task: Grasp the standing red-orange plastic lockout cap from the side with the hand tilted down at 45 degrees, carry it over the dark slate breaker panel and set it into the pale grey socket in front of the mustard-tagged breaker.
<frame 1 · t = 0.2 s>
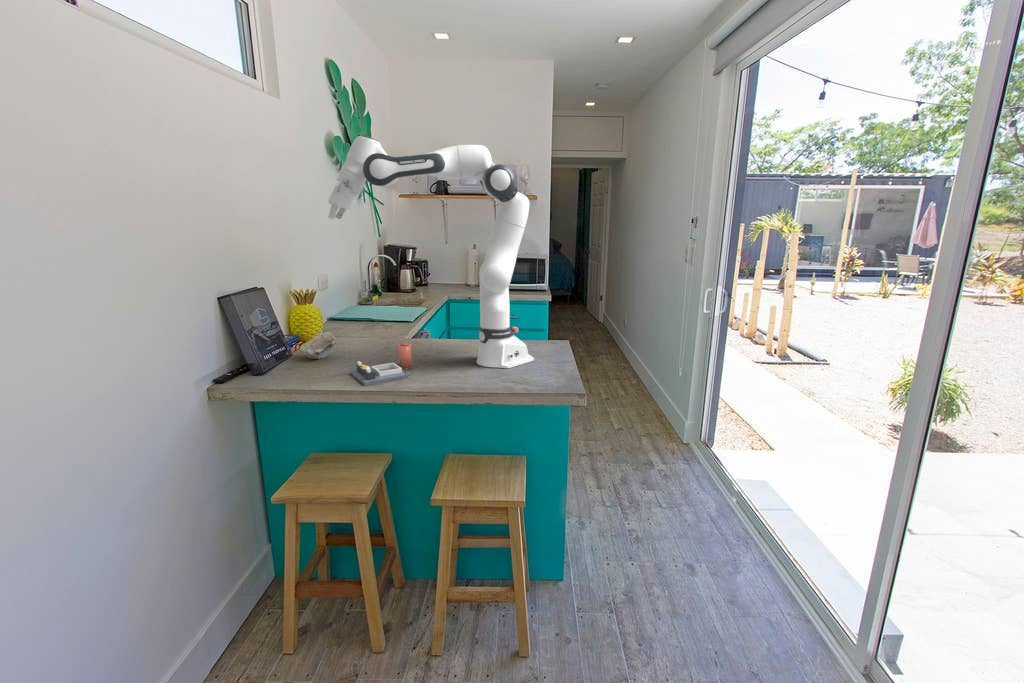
hand: (334, 218, 175), 54 cm above the countertop, tool tilted 25°, fingers open, 8 cm apart
stone: (318, 359, 197), on the countertop
panel: (378, 375, 177), on the countertop
lockout cap: (405, 367, 187), on the countertop
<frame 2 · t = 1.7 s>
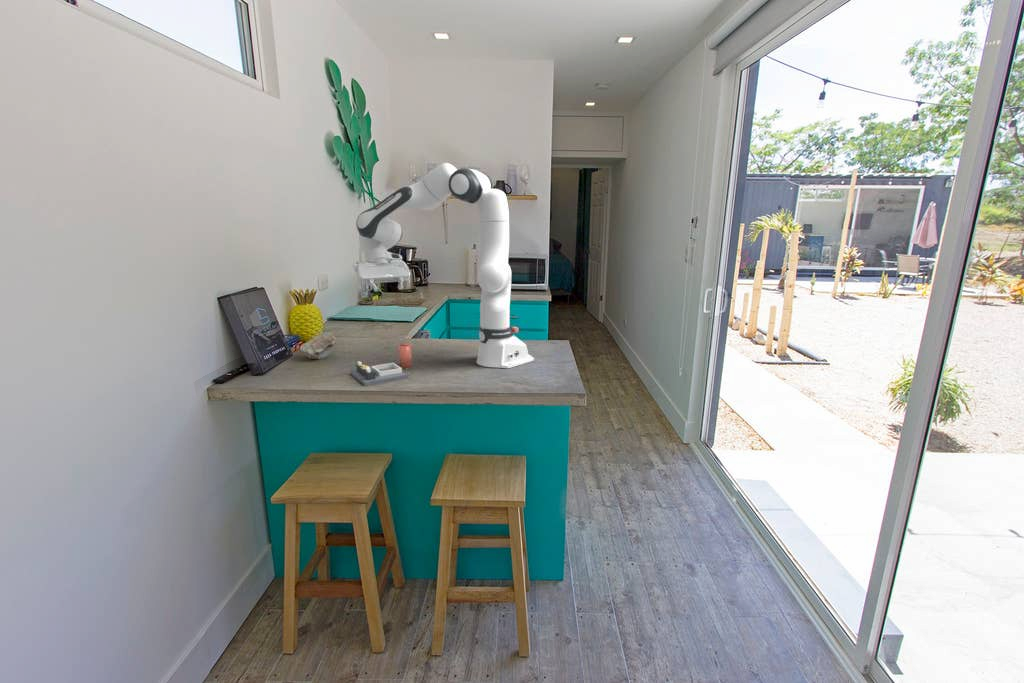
hand: (389, 289, 190), 27 cm above the countertop, tool tilted 45°, fingers open, 8 cm apart
nothing on the countertop moved.
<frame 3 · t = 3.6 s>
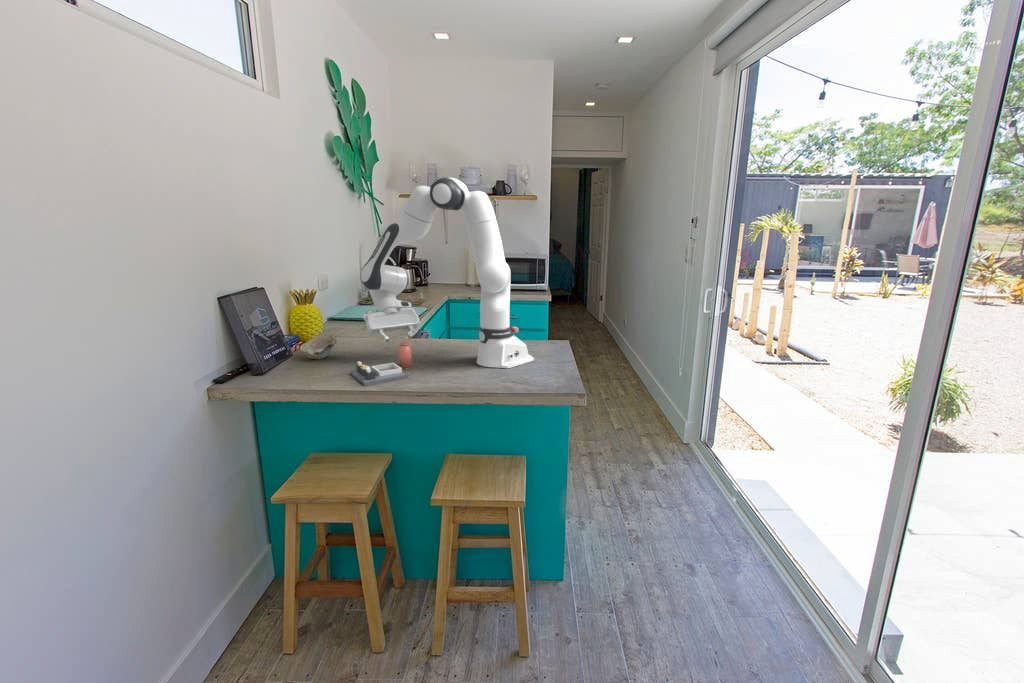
hand: (398, 339, 189), 10 cm above the countertop, tool tilted 45°, fingers open, 8 cm apart
nothing on the countertop moved.
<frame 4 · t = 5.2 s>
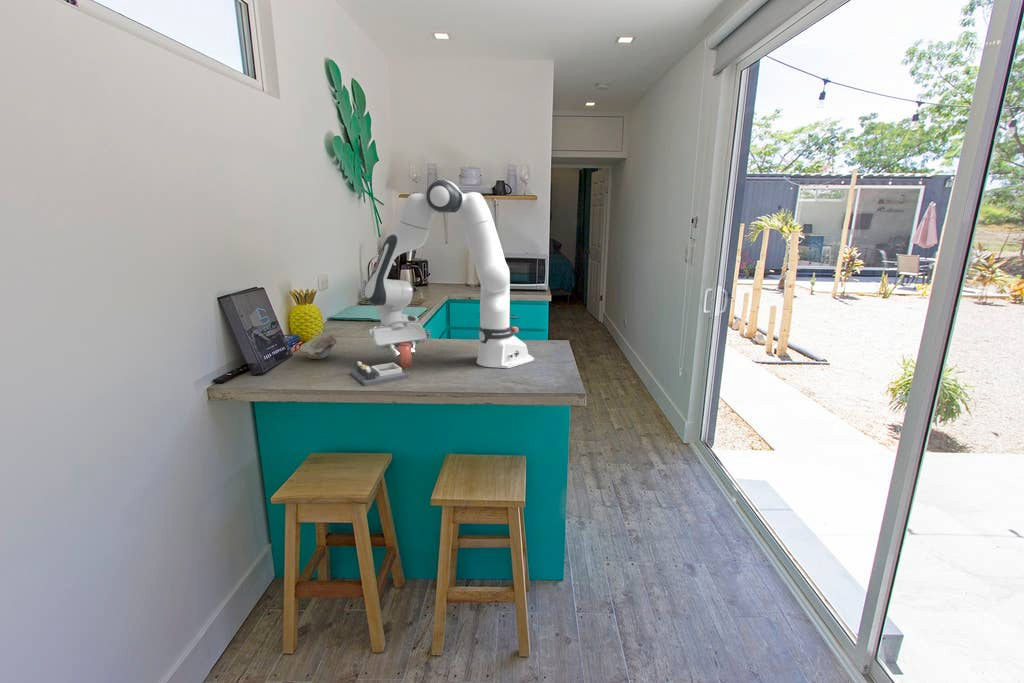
hand: (405, 354, 185), 5 cm above the countertop, tool tilted 45°, fingers closed on lockout cap, 5 cm apart
lockout cap: (405, 367, 187), on the countertop, touching gripper
everything else where it was.
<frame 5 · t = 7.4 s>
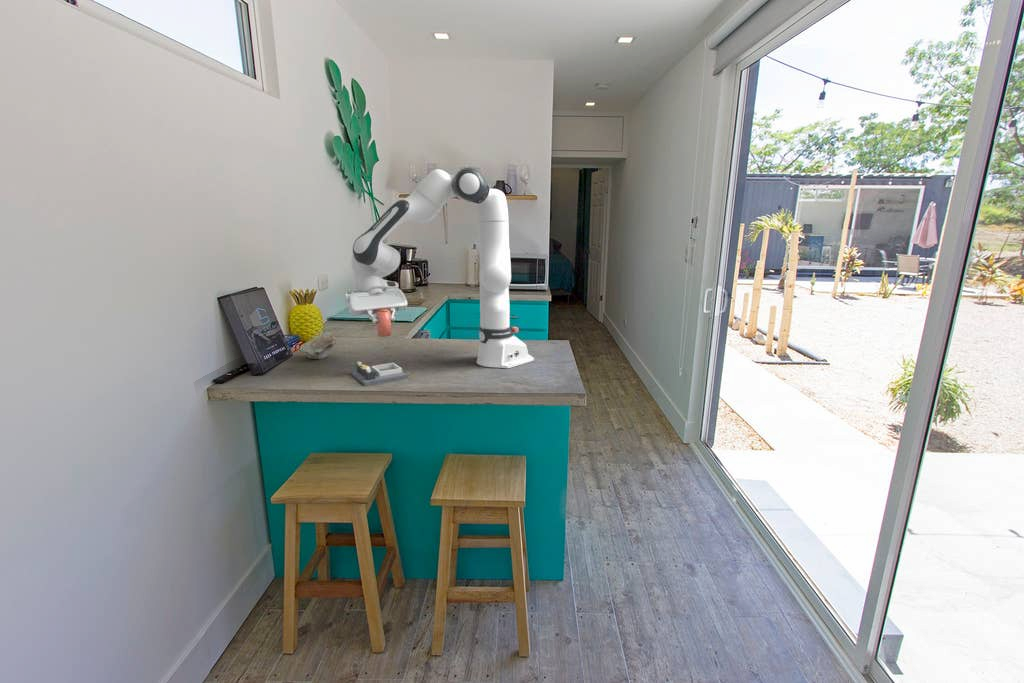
hand: (384, 321, 173), 19 cm above the countertop, tool tilted 45°, fingers closed on lockout cap, 5 cm apart
lockout cap: (384, 335, 175), point 14 cm above the countertop, touching gripper
everything else where it was.
when the fingers open (8 cm above the countertop, at t = 9.9 s): lockout cap drops 1 cm, resting on panel.
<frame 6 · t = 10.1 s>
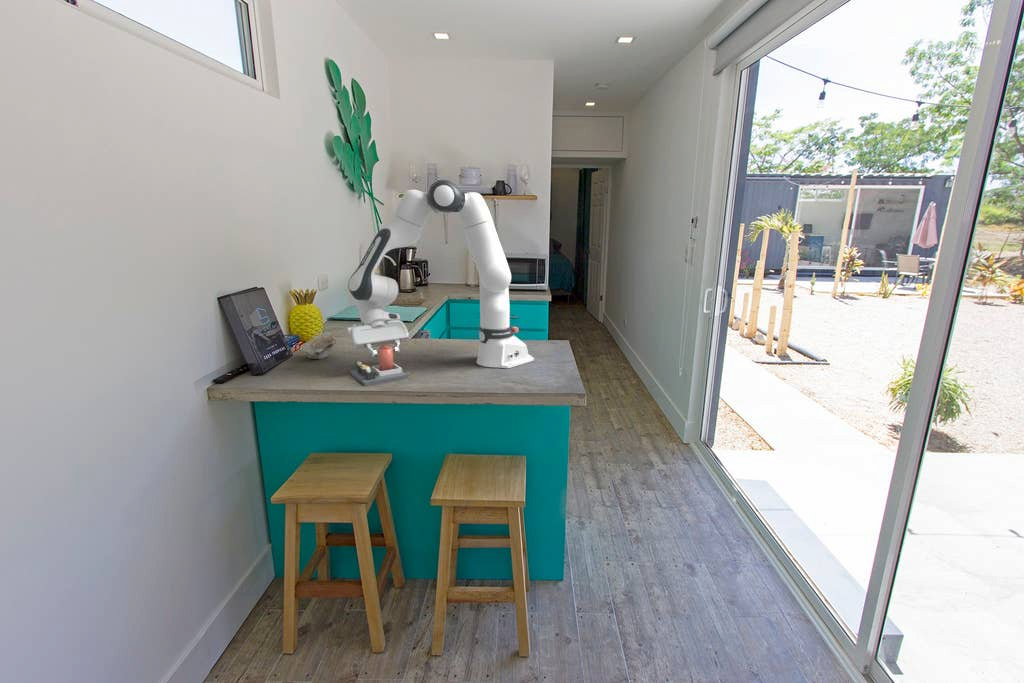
hand: (386, 354, 176), 8 cm above the countertop, tool tilted 45°, fingers open, 7 cm apart
lockout cap: (386, 371, 178), point 1 cm above the countertop, touching panel
everything else where it was.
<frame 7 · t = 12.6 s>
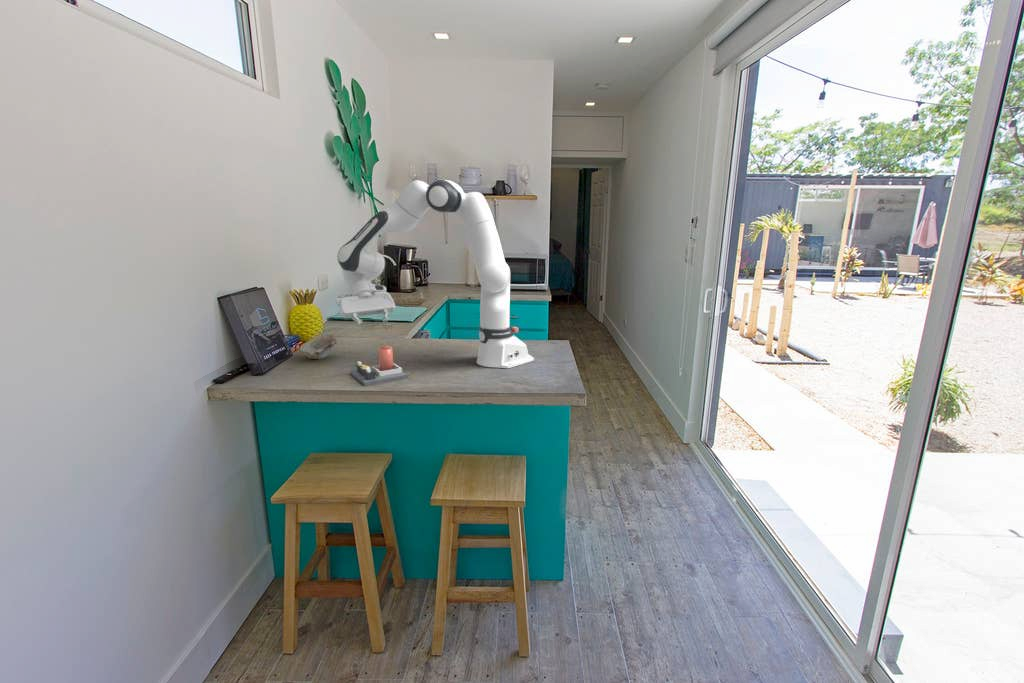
hand: (373, 323, 186), 16 cm above the countertop, tool tilted 45°, fingers open, 8 cm apart
nothing on the countertop moved.
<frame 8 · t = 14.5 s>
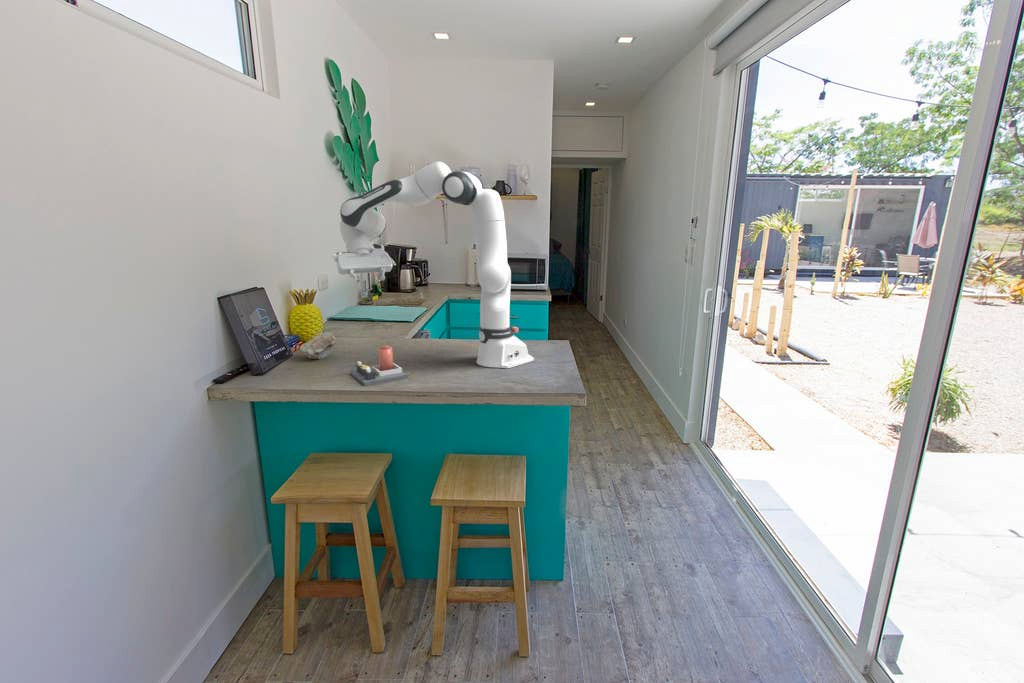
hand: (370, 280, 185), 31 cm above the countertop, tool tilted 45°, fingers open, 8 cm apart
nothing on the countertop moved.
at the end: lockout cap 0.1 cm from the target spot on the panel, point 1.2 cm above the panel's base; lockout cap tilted 0°; the gripper is holding nothing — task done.
